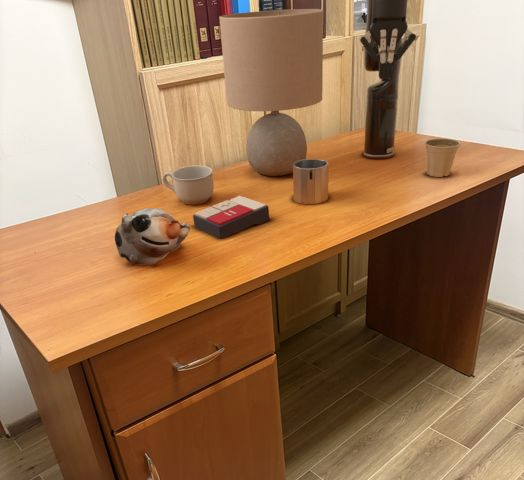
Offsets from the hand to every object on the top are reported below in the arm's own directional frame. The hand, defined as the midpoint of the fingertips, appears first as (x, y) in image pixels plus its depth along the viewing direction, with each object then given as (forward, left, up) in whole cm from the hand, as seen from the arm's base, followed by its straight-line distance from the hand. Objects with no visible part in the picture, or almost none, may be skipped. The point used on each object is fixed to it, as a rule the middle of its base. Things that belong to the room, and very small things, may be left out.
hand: (384, 80), depth 127 cm
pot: (+2, -13, -23) cm, 26 cm away
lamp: (-23, -27, -27) cm, 45 cm away
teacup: (0, -50, -27) cm, 57 cm away
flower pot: (-14, +19, -27) cm, 36 cm away
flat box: (+18, -37, -27) cm, 49 cm away
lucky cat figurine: (+35, -52, -27) cm, 68 cm away
